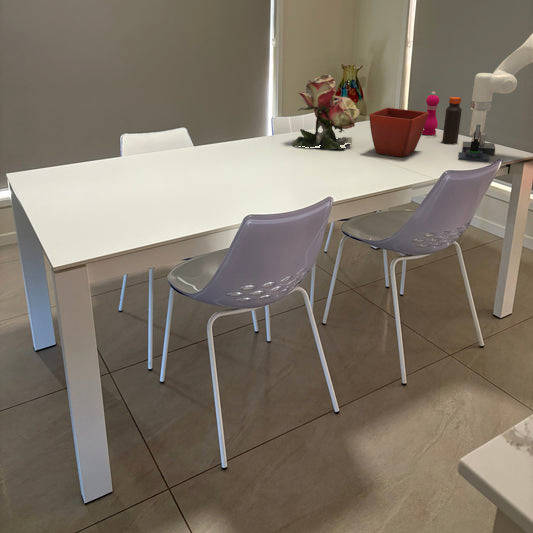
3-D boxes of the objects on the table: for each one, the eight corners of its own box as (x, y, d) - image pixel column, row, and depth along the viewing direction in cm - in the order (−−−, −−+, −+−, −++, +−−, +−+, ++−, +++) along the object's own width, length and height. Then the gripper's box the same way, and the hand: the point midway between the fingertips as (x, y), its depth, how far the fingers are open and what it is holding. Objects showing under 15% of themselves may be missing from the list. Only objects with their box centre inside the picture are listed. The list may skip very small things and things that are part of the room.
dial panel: (493, 150, 257) (494, 142, 255) (494, 155, 248) (495, 148, 247) (462, 148, 260) (463, 140, 259) (462, 153, 252) (463, 146, 250)
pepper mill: (430, 136, 280) (435, 93, 272) (418, 133, 286) (422, 91, 277) (439, 134, 285) (444, 91, 276) (427, 131, 290) (432, 89, 281)
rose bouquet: (355, 151, 255) (359, 80, 242) (289, 147, 262) (290, 77, 249) (362, 138, 278) (366, 72, 265) (301, 135, 285) (302, 70, 272)
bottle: (460, 142, 270) (466, 97, 261) (452, 145, 265) (458, 99, 257) (446, 140, 274) (452, 96, 265) (439, 142, 269) (444, 97, 261)
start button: (478, 154, 245) (478, 150, 244) (478, 156, 242) (479, 152, 241) (469, 153, 246) (469, 149, 245) (469, 155, 243) (469, 151, 242)
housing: (488, 156, 247) (489, 149, 245) (489, 162, 239) (490, 155, 238) (458, 154, 250) (459, 147, 249) (458, 160, 242) (459, 153, 241)
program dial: (473, 143, 255) (475, 131, 253) (484, 143, 254) (486, 131, 252) (473, 145, 252) (475, 133, 249) (484, 146, 250) (486, 133, 248)
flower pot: (424, 151, 256) (429, 111, 249) (408, 160, 242) (412, 119, 235) (384, 145, 266) (387, 107, 258) (365, 154, 251) (368, 114, 244)
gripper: (470, 102, 243) (464, 146, 250) (471, 108, 230) (464, 154, 238) (490, 102, 241) (483, 147, 249) (491, 109, 228) (484, 156, 236)
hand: (474, 150), depth 243 cm, fingers closed
